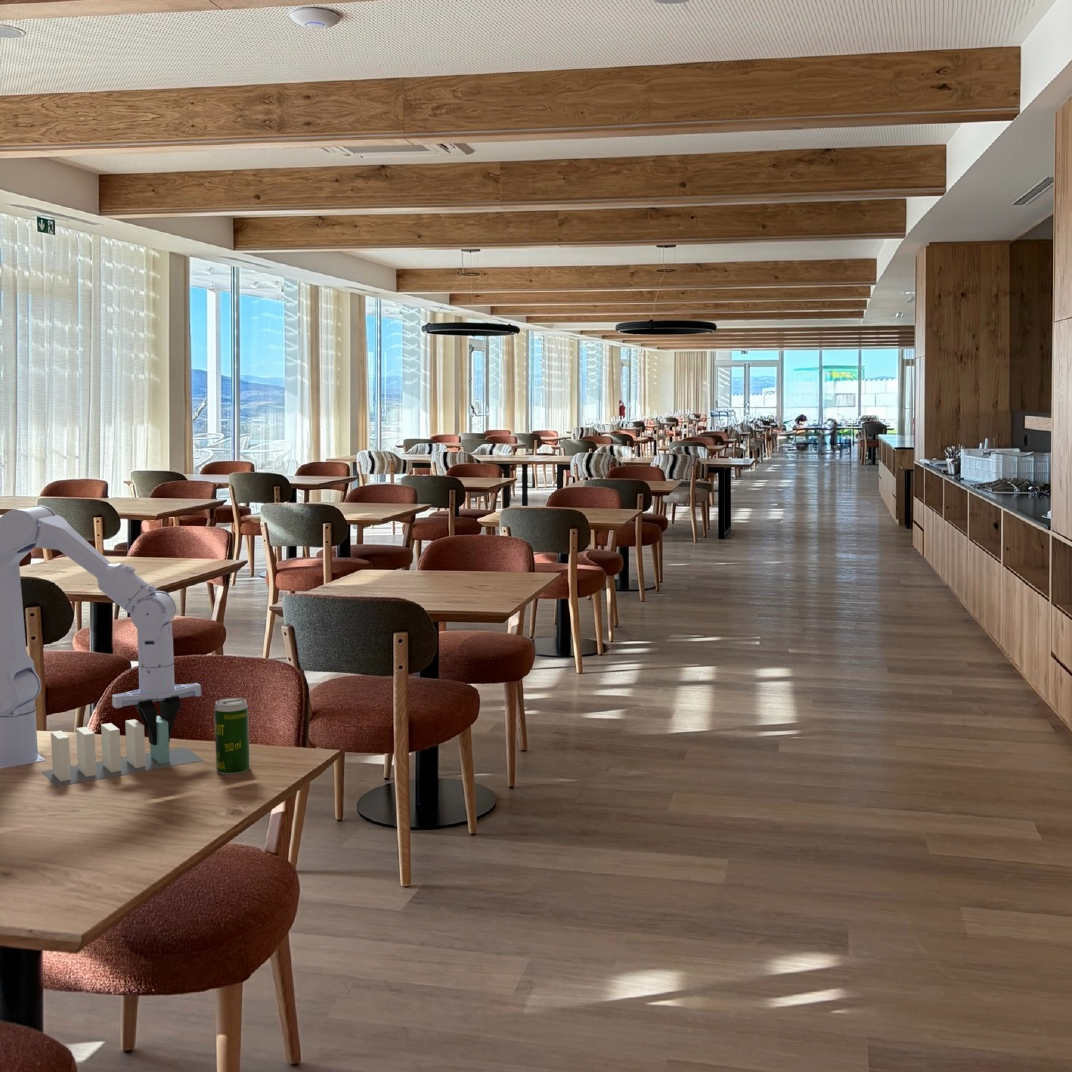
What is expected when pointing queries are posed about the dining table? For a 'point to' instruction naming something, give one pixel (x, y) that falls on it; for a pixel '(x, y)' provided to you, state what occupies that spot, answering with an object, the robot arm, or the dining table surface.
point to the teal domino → (161, 742)
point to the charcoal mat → (126, 767)
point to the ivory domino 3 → (111, 747)
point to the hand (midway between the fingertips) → (159, 742)
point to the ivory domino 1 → (60, 755)
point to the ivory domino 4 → (135, 743)
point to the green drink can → (232, 736)
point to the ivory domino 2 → (86, 751)
